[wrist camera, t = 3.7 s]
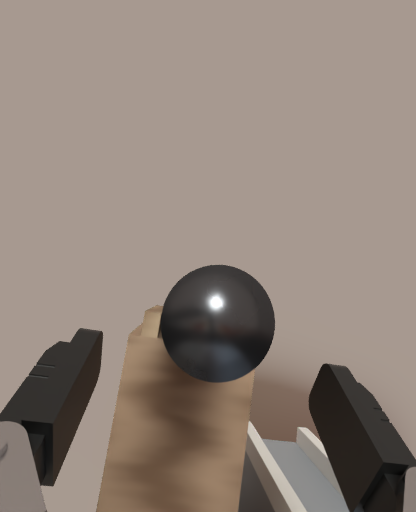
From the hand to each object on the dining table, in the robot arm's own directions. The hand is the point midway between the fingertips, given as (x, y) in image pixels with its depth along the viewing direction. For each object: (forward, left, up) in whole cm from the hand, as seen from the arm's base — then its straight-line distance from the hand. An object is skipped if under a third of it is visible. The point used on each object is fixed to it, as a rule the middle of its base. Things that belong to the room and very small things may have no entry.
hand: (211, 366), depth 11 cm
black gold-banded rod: (0, +10, 0) cm, 10 cm away
